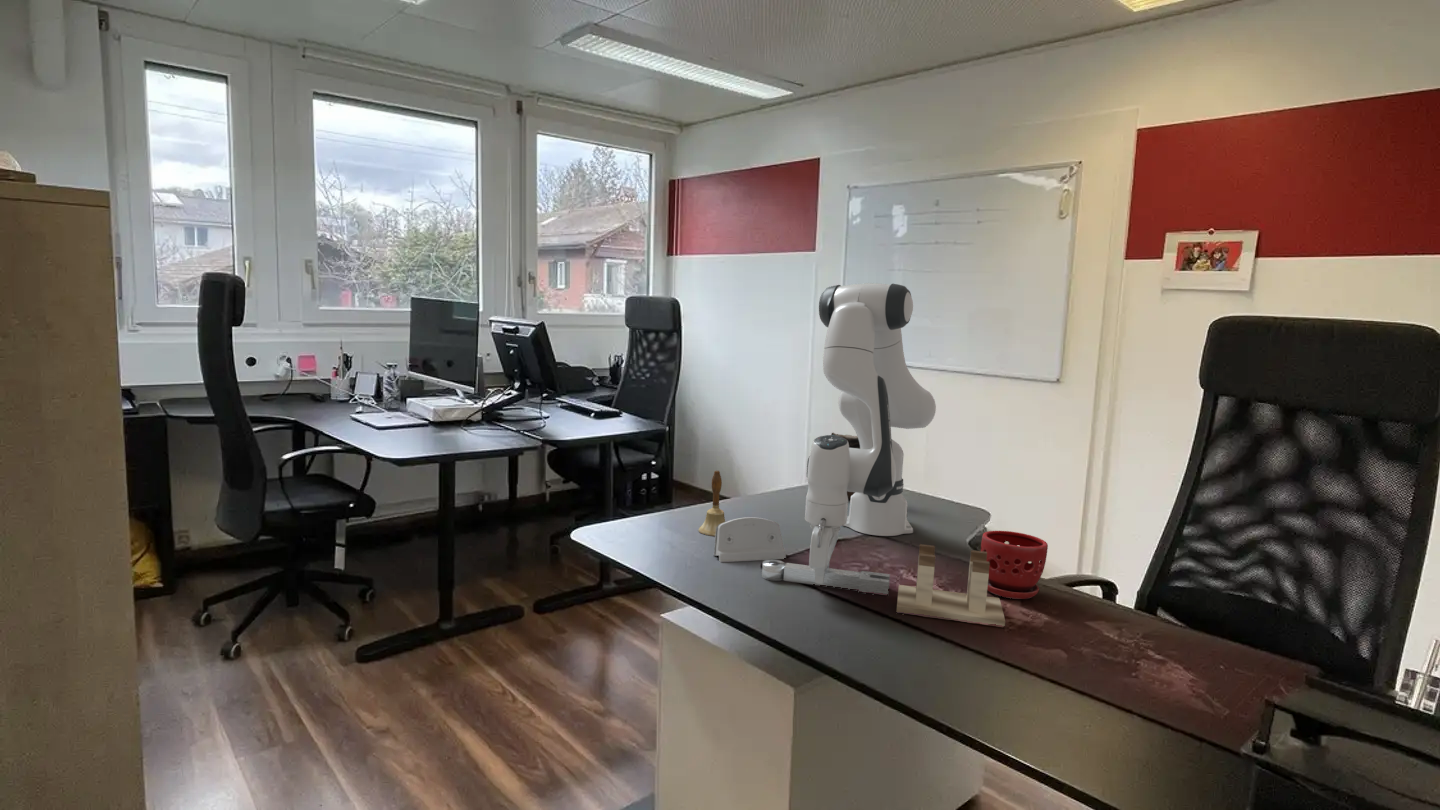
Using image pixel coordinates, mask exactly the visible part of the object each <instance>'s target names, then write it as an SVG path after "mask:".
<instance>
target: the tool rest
mask: <svg viewBox="0 0 1440 810" xmlns="http://www.w3.org/2000/svg"><path fill="white" fill-rule="evenodd" d="M918 550H919V551H918V558H917V559H918V561H917V572H916V574H917V575H916V584H915V585H916V586H909V585H903V584H898V591H897V601H896V612H904V613H914V614H924V615H930V616H937V617H944V618H951V619H958V620H967V621H973V622H982V623H988V624H996V625H1002V626H1006V618H1005V615H1004V611H1003V606H1002V603H1001V600H1000V599H1001V598H1000V597H994V596H987V595H988V590H987V587H988V577H989V566H990V563H989V562H987V561H986V560H987V552H983V551H981V550H980V551H979V550H973V549H970V558H969V566H968V579H967V588H966V589H967V590H966V593H965V592H955V591H949V590H948V591H947V590H941V589H934V580H935V579H934V578H935V568H936V566H935V565H936V555H935V554H936V553H935V552H936V545H932V544H931V545H929V544H923V543H922V544H921V543H919V548H918Z"/></svg>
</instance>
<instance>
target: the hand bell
mask: <svg viewBox="0 0 1440 810" xmlns="http://www.w3.org/2000/svg"><path fill="white" fill-rule="evenodd" d="M722 480H723V479H722V476H721V472H720V470H714V473H713V475H712V478H711V491H712V507H711V508H709V509H708V510H707V511H706V515H705V519H704V522H703V523H702V525H700V526H699V528H698V530H697V531H698V533H700V534H702V535H704V534H705V535H706V536H710V537H711V536H712V537H715V534H716V527H717V526H718V525H719V524H721V523H724V522H726V518H725V511H724V510H722V509H721V508H720V493H721V490H722V486H723V485H722V484H723V483H722ZM705 535H704V536H705Z"/></svg>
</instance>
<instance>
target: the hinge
mask: <svg viewBox="0 0 1440 810" xmlns="http://www.w3.org/2000/svg"><path fill="white" fill-rule="evenodd" d="M713 549H714V551H713V556H714V557H715V556H716V557H717V556H718V562H719V561H720V562H719V563H727V562H729V563H730V562H750V561H765V560H785V559H784V558H786V559H787V555H786V549H785V547H784V541H783V537H782V531H781V527H780V524H779V523H778V522H776V521H773V520H771V519H767V518H762V517H754V516H753V517H751V516H746V517H739V518H733V519H729V520H727V521H726V520H725V522H724V523H721V524H719V525H718V526H717V527H716V534H715V536H714V548H713Z"/></svg>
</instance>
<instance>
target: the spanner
mask: <svg viewBox="0 0 1440 810" xmlns="http://www.w3.org/2000/svg"><path fill="white" fill-rule="evenodd" d="M761 566H762V567H761V578H762V579H764V580H766V581H771V582H780V581H784V582H790V583H791V582H792V583H798V584H799V583H800V584H805V585H813V584H815V586H820V585H826V586H825V587H827V586H833V587H832V588H835V587H841V588H840V589H842V588H848V589H847V590H850V589H859V591H862V592H874V593H883V594H888V595H889V591H888V589H890V580H891V579H890V578H891V577H890V576H891V574H890V573H889V574H888V573H881V572H875V571H874V572H872V571H866V570H860V571H856V570H855V571H853V570H846V569H837V568H831V567H829V568H827V569H826V570H825V573H824V574H825V577H824V583H823V584H816V583H815V570H814V569H813V568H810V566H809V564H808V565H807V564H806V565H805V564H800V563H799V564H798V563H791V562H784V561H782V560H781V559H772V560H762V565H761ZM813 586H814V585H813ZM859 591H858V592H859Z"/></svg>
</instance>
